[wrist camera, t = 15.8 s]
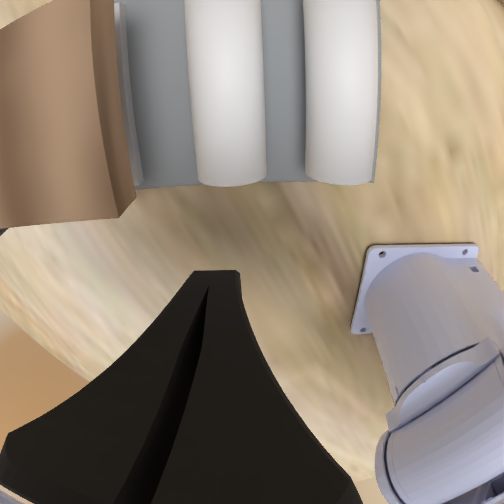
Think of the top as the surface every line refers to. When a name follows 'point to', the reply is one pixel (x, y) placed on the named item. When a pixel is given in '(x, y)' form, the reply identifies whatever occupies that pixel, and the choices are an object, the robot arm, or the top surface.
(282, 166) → the roller bed
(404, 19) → the top surface
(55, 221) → the walnut slab
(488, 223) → the top surface
